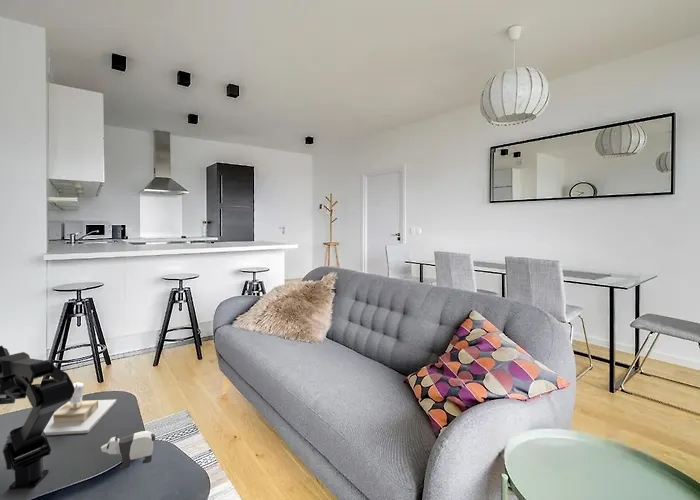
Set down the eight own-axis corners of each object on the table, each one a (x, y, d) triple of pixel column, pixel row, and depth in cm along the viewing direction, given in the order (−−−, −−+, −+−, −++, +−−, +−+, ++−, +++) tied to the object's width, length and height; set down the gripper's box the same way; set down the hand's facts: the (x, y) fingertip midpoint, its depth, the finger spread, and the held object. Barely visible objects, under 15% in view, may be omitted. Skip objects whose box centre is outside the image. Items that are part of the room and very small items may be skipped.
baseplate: (87, 432, 128) (87, 430, 128) (29, 436, 125) (29, 433, 124) (116, 401, 149) (116, 399, 149) (67, 403, 146) (67, 401, 146)
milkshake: (69, 412, 133) (68, 386, 132) (68, 406, 137) (68, 380, 136) (84, 408, 136) (84, 382, 135) (83, 402, 140) (83, 377, 139)
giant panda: (155, 451, 119) (155, 423, 118) (155, 462, 114) (155, 433, 113) (102, 463, 113) (101, 434, 112) (99, 474, 108) (98, 444, 107)
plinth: (84, 421, 133) (84, 413, 133) (53, 423, 131) (53, 415, 131) (98, 407, 143) (98, 400, 142) (69, 408, 141) (69, 401, 141)
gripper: (55, 355, 119) (70, 374, 130) (-17, 360, 113) (5, 379, 124) (44, 389, 112) (61, 406, 123) (-33, 396, 106) (-8, 413, 117)
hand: (31, 400), depth 122 cm, fingers open, 9 cm apart
